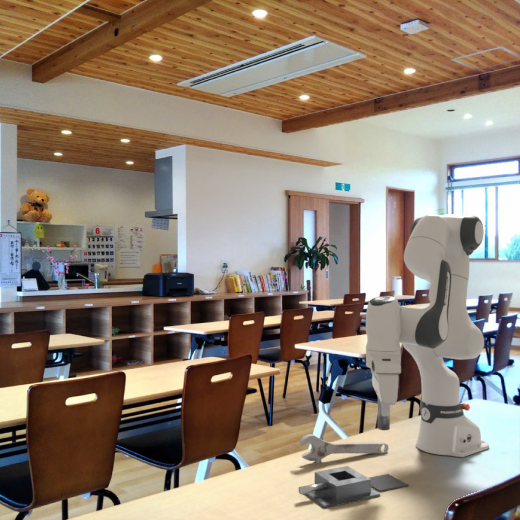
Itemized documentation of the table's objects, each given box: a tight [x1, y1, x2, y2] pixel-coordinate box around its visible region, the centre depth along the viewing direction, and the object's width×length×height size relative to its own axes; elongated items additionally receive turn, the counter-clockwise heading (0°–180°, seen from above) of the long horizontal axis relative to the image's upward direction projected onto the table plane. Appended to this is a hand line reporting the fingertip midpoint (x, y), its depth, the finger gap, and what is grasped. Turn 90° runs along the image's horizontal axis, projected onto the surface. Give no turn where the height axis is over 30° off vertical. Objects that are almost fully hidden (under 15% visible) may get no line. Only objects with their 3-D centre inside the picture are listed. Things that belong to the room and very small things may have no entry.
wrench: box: [298, 433, 389, 464], centre depth 168 cm, size 8×2×30 cm
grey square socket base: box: [298, 465, 381, 509], centre depth 143 cm, size 19×12×4 cm, turn 116°
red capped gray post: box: [375, 390, 391, 431], centre depth 150 cm, size 4×4×10 cm
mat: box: [368, 473, 409, 493], centre depth 150 cm, size 9×8×1 cm
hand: (383, 412), depth 150 cm, fingers closed on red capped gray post, 3 cm apart
